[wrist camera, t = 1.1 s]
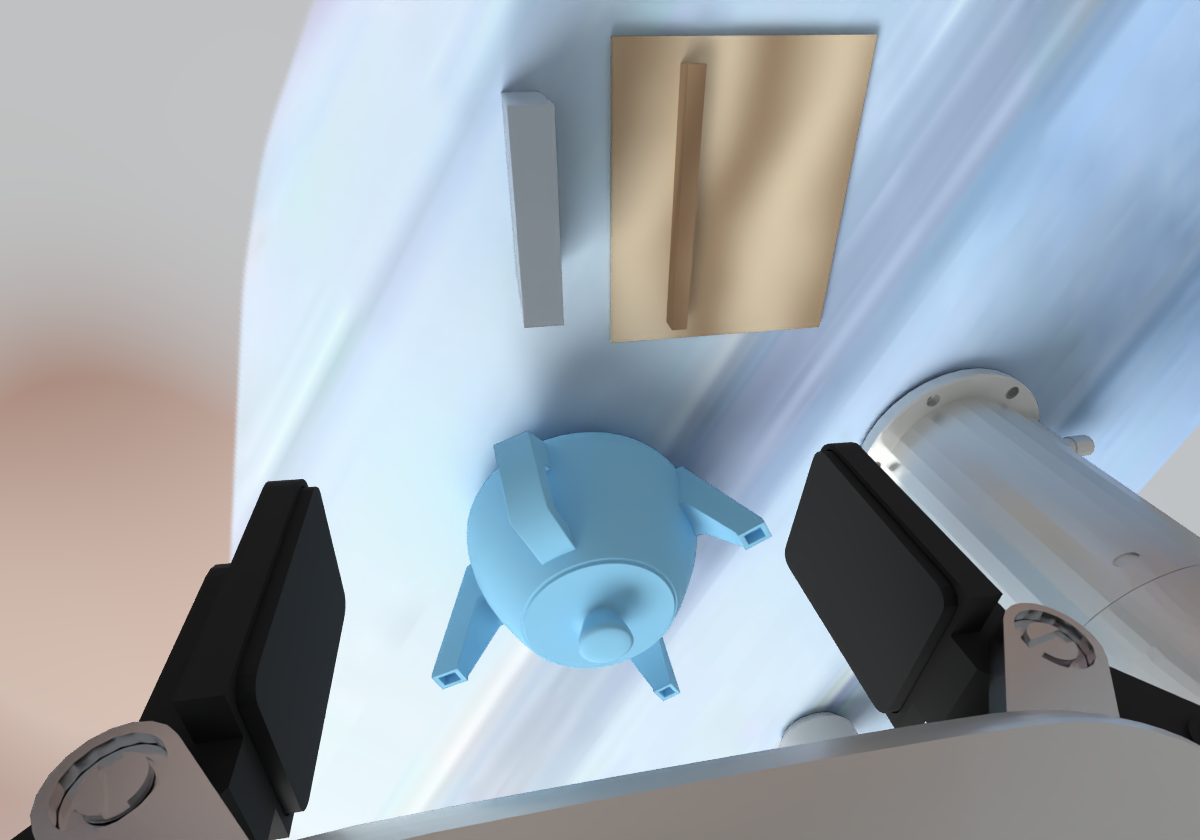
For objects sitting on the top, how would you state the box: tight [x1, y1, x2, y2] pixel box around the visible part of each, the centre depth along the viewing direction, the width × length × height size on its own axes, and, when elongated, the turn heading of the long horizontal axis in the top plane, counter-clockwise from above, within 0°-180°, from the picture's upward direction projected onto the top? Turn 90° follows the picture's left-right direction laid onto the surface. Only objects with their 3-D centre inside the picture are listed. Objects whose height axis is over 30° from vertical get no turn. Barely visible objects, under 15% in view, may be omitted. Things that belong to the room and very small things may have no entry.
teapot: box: [432, 431, 772, 701], centre depth 34 cm, size 15×15×11 cm
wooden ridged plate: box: [610, 35, 877, 343], centre depth 29 cm, size 12×14×2 cm
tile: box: [501, 91, 564, 328], centre depth 25 cm, size 2×8×7 cm, turn 1°
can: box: [779, 712, 858, 748], centre depth 53 cm, size 8×8×12 cm
